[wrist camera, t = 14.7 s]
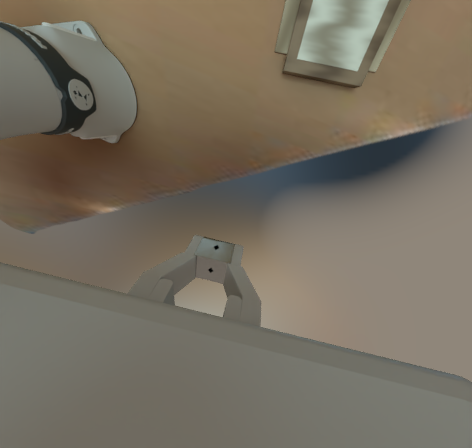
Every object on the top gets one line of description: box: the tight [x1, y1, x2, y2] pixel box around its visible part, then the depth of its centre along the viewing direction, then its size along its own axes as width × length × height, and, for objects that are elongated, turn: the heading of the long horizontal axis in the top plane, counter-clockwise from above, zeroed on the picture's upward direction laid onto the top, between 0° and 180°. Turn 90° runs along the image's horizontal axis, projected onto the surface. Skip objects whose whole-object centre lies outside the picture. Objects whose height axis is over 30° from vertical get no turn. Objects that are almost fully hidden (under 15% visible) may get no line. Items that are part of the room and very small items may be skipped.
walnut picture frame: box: [283, 0, 401, 88], centre depth 24 cm, size 12×3×11 cm
